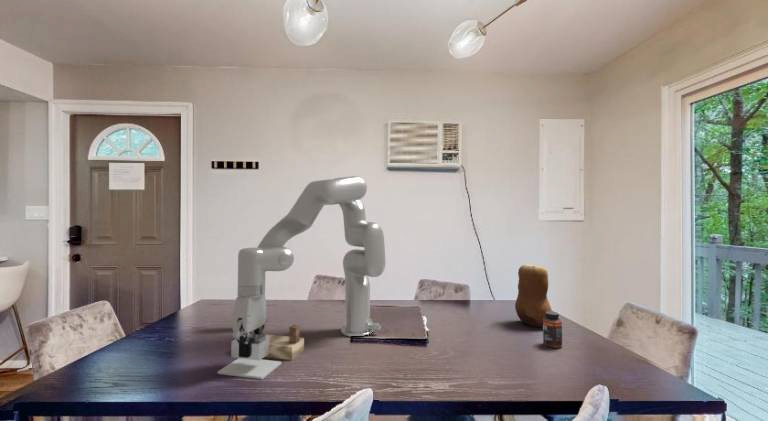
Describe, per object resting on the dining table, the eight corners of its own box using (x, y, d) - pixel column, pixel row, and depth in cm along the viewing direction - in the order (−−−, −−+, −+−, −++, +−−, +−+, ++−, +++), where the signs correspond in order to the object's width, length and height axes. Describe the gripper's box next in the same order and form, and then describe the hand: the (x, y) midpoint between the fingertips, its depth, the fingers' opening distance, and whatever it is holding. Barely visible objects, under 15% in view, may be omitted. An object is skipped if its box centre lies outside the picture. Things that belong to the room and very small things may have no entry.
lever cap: (269, 353, 98) (269, 334, 99) (259, 360, 94) (259, 340, 94) (242, 350, 100) (242, 331, 101) (231, 357, 96) (231, 337, 96)
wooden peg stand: (303, 350, 111) (304, 322, 111) (292, 360, 103) (292, 330, 103) (255, 345, 115) (256, 318, 115) (240, 354, 107) (241, 326, 107)
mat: (281, 363, 100) (281, 361, 100) (261, 379, 91) (261, 377, 91) (240, 358, 103) (240, 357, 103) (217, 373, 94) (217, 371, 94)
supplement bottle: (564, 345, 116) (564, 312, 116) (559, 350, 111) (559, 316, 112) (546, 340, 120) (546, 309, 120) (540, 345, 116) (540, 312, 116)
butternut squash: (553, 323, 140) (553, 263, 140) (549, 332, 128) (549, 267, 129) (518, 318, 147) (518, 261, 147) (511, 326, 136) (511, 264, 136)
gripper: (257, 284, 107) (256, 341, 106) (220, 296, 90) (218, 364, 90) (278, 285, 105) (277, 343, 104) (244, 297, 88) (243, 367, 88)
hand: (250, 352), depth 97 cm, fingers closed on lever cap, 5 cm apart
